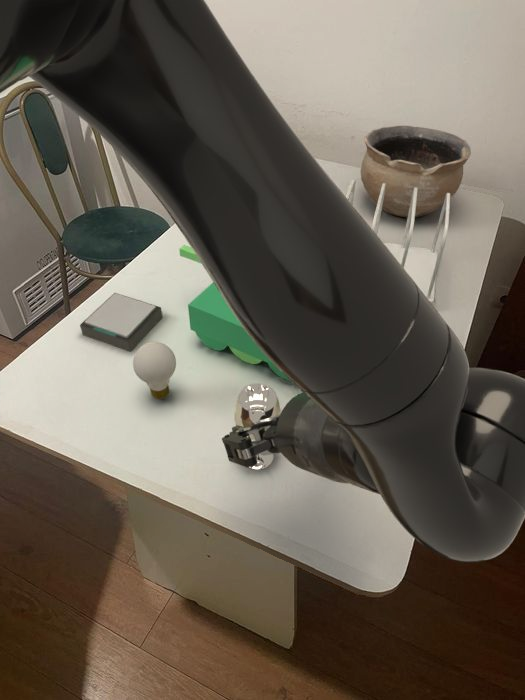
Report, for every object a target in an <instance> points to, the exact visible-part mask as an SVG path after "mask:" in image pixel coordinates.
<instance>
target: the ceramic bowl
mask: <svg viewBox="0 0 525 700" xmlns="http://www.w3.org/2000/svg"><path fill="white" fill-rule="evenodd" d="M363 141H364V143H365V146H366V151H365V154H364V156H363V158H362V161H361V167H360V180H361V182H362V185H363V187H364V190H365V192H366V193H367V195H368V197H369V198H370V199H371V201H372V202H373V203H374V205H376V206H377V203H378V199H379V195H380V192H381V188H382V184H383V183H385V184H386V187H385V193H384V199H383V205H382V211H384V212H386V213H387V214H390V215H392V216H397V217H401V218H408V214H409V209H410V204H411V199H412V195H413V190H414V188H418V189H417V200H416V210H415V218H419V217H423V216H426V215H428V214H430V213H432V212H434V211H436V210H438V209H440V208H442V207H443V204H444V200H445V197H446V194H447V193H450V199H451V198H452V197H454V195H456V193H457V192H458V190H459V188H460V186H461V183H462V181H463V177H464V165H465V164H466V162H467V161H468V160H469V158H470V157H471V154H472V151H471V145H469V143H468V142H467V140H465V139H463V138H461V137H460V136H458V135H456V134H453V133H450V132H447V131H445V130H439V129H436V128H435V129H434V128H428V127H421V126H412V125H395V126H382V127H380V128H377V129H372V130H371V131H370V132H368V133H367V134H366V135H365V136H364V139H363Z"/></svg>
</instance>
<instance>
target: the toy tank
mask: <svg viewBox="0 0 525 700" xmlns="http://www.w3.org/2000/svg"><path fill="white" fill-rule="evenodd" d="M178 250H179V257H183V258H185V259H188V260H191V261H194V262H195V263H198V264H201V265H202V263H201V262H200V260H199V259H198V257H197V255H196V254H195V252H194V251H193V249H192V248H191V246H190V245H185V244H183V245H182V246H181V247H180V248H178ZM187 309H188V319H189V328H190V331H192V332H194V333H195V334H196V336H197V338H198V339H199V341H201V343H203V345H205V346H206V347H207V348H209V349H211V350H214V351H217V352H218V351H223V350H226V348H228V347H229V349H230V351H231V352H232V353H233V354H234V355H235V356H236V357H237V358H238V359H239V360H241V361H243V362H245V363H247V364H250V365H257V364H261V362H264V363H267V365H268V367H269V368H270V369H271V370H272V372H273V373H274V374H276V375H277V376H278V377H280V378H281V379H283V380H286V381H289V382H291V381H290V380H289V379H288V378H287V377H286V376H285V375H284V374H283V373H282V372H281V371H280V370H279V369H278V368H277V367H276V366H275V365H274V364H273V363H272V362H271V361H270V360H269V359H268V358H267V356H266V355H265V354H264V353H263V352H262V351H261V349H260V348H259V347H258V346H257V345H256V344H255V342H254V341H253V340H252V339H251V337H250V336H249V335H248V333H247V332H246V331H245V330H244V328H243V327H242V325H241V324H240V322H239V321H238V320H237V318H236V317H235V315H234V314H233V312H232V311H231V309H230V308H229V306H228V305H227V303H226V302H225V300H224V299H223V297H222V295H221V294H220V292H219V290H218V289H217V287H216V285H215V284H214V282H213V281H212V283H211V284H210V285H208V286H207V287H206V288H205V289H204V290H203V291H201V292H200V293H199V294H198V295H197V296H196V297H195V298H193V299H192V300H191V301H190V302H189V303H188V304H187Z"/></svg>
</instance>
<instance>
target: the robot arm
mask: <svg viewBox="0 0 525 700" xmlns="http://www.w3.org/2000/svg"><path fill="white" fill-rule="evenodd" d="M26 78H30V79H32V80H33V81H34V82H36V83H37V84H38V85H39V86H41V87H42V88H43V89H44V90H46V91H47V92H48V93H49V94H51V95H52V96H53V97H54V98H56V99H57V100H58V101H60V102H61V103H62V104H64V105H65V106H66V107H67V108H68V109H69V110H70V111H72V112H73V113H74V114H75V115H77V116H78V117H79V118H81V119H82V120H83V121H84V122H85V123H87V125H89V126H90V127H91V128H92V129H94V131H96V133H98V134H99V135H100V136H101V137H102V138H103V139H104V140H105V141H106V142H107V143H108V144H109V145H110V146H111V147H112V148H113V149H114V150H115V151H116V152H117V153H118V154H119V155H120V156H121V157H122V159H123V160H124V161H125V162H126V163H127V164H128V165H129V166H130V167H131V168H132V169H133V171H134V172H135V173H136V174H137V175H138V176H139V178H140V179H141V180H142V181H143V182H144V184H145V185H146V186H147V187H148V188H149V190H150V191H151V192H152V194H153V195H154V196H155V197H156V199H157V200H158V201H159V203H160V204H161V205H162V206H163V208H164V209H165V210H166V212H167V213H168V215H169V216H170V218H171V219H172V221H173V222H174V224H175V225H176V226H177V228H178V230H179V231H180V233H181V234H182V235H183V237H184V238H185V240H186V241H187V243H188V244H189V247H191V248H192V249H193V251H194V252H195V254H196V255H197V257H198V259H199V260H200V262H201V263H202V264H201V263H200V264H201V265H202V267H203V268H204V270H205V271H206V273H207V274H208V276H209V277H210V279H211V281H212V283H213V282H214V284H215V285H216V287H217V289H218V290H219V292H220V294H221V295H222V297H223V299H224V300H225V302H226V303H227V305H228V306H229V308H230V309H231V311H232V312H233V314H234V315H235V317H236V318H237V320H238V321H239V322H240V324H241V325H242V327H243V328H244V330H245V331H246V332H247V333H248V335H249V336H250V337H251V339H252V340H253V341H254V342H255V344H256V345H257V346H258V347H259V348H260V349H261V351H262V352H263V353H264V354H265V355H266V356H267V358H268V359H269V360H270V361H271V362H272V363H273V364H274V365H275V366H276V367H277V368H278V369H279V370H280V371H281V372H282V373H283V374H284V375H285V376H286V377H287V378H288V379H289V380H290V381H289V380H288V381H289V382H291V383H293V385H294V386H296V387H297V389H298V390H300V391H301V392H300V393H298V394H296V395H295V396H293V397H292V398H291V399H289V401H287V403H286V404H285V405H284V407H283V408H282V409H281V413H280V414H278V415H277V416H275V417H272V418H267V419H262V420H259V421H257V422H255V423H254V424H252V426H251V427H243V426H239V425H237V426H236V425H234V426H232V427H231V431H230V432H229V434H226V435H224V436H222V438H221V441H222V444H223V445H224V448H225V452H226V455H227V459H228V461H229V462H231V463H233V464H237V465H240V466H241V467H244V468H248V467H252V466H254V465H255V464H257V463H258V462H257V456H256V455H258V454H261V455H270V454H273V455H276V454H282V456H283V457H284V458H285V459H286V460H287V461H288V462H289V463H291V464H292V465H293V466H295V467H296V468H297V469H301V470H303V471H306V472H308V473H311V474H314V475H317V476H319V477H322V478H324V479H327V480H330V481H332V482H336V483H341V484H349V485H352V486H354V487H357V488H360V489H363V490H365V491H368V492H372V493H374V494H377V495H380V496H381V499H382V500H383V502H384V503H385V505H386V506H387V508H388V509H389V511H390V512H391V514H392V515H393V517H394V518H395V520H397V522H398V523H399V524H400V526H402V528H403V529H404V530H405V531H406V532H407V533H408V534H409V535H410V536H411V537H412V538H414V539H415V540H416V541H417V542H418V543H419V544H421V545H422V546H424V548H427V549H428V550H430V552H433V553H435V554H436V555H439V556H441V557H443V558H446V559H448V560H451V561H456V562H460V563H469V564H470V563H471V564H472V563H482V562H486V561H489V560H493V559H494V558H496V557H498V556H499V555H501V554H503V553H504V552H505V551H506V550H507V549H508V548H510V546H511V544H512V543H513V541H514V540H515V538H516V536H517V535H518V533H519V531H520V529H521V527H522V525H523V522H524V521H525V378H524V377H521V376H519V375H516V374H514V373H510V372H508V371H505V370H500V369H494V368H486V367H470V364H469V360H468V359H469V358H468V355H467V352H466V351H465V348H464V346H463V344H462V342H461V341H460V339H459V338H458V337H457V335H456V334H455V332H454V331H453V330H452V328H451V327H450V326H449V324H448V323H447V322H446V320H444V318H443V316H442V315H441V314H440V313H439V311H438V310H437V309H436V308H435V306H434V304H433V305H432V304H431V302H430V301H429V300H428V299H427V297H426V296H425V295H424V294H423V292H422V291H421V290H420V288H419V287H418V286H417V285H416V283H415V282H414V281H413V279H412V278H411V277H410V276H409V274H408V273H407V272H406V271H405V269H404V268H403V267H402V266H401V264H400V263H399V262H398V261H397V259H396V258H395V257H394V256H393V255H392V253H391V252H390V251H389V250H388V248H387V247H386V246H385V245H384V243H383V242H384V241H382V240H381V239H380V237H379V235H378V234H377V235H376V234H375V232H374V231H373V230H372V226H370V225H369V224H368V223H367V221H366V220H365V219H364V217H363V216H362V214H360V212H358V210H357V209H356V208H355V207H354V205H352V204H351V203H350V200H349V199H347V198H346V195H345V194H344V192H342V191H341V190H340V188H339V187H338V185H336V183H335V182H334V181H333V179H332V178H331V177H330V176H329V175H328V173H327V172H326V171H325V170H324V168H323V167H322V166H321V165H320V163H319V162H318V161H317V160H316V158H315V157H314V156H313V155H312V154H311V152H310V151H309V150H308V148H307V147H306V145H305V144H304V143H303V142H302V141H301V139H300V138H299V137H298V135H297V134H296V133H295V132H294V130H293V129H292V128H291V126H290V125H289V124H288V122H287V121H286V120H285V117H283V115H282V114H281V112H279V110H278V108H276V105H274V103H273V102H272V101H271V99H270V98H269V96H268V95H267V93H266V92H265V90H264V89H263V87H262V86H261V85H260V83H259V81H258V80H257V79H256V76H254V75H253V73H252V72H251V70H250V69H249V67H248V66H247V64H246V62H245V61H244V60H243V58H242V56H241V55H240V54H239V52H238V51H237V49H236V48H235V46H234V44H233V42H231V40H230V38H229V37H228V35H227V34H226V32H225V31H224V29H223V28H222V26H221V24H220V23H219V21H218V20H217V18H216V16H215V15H214V14H213V12H212V10H211V8H210V6H208V4H207V2H206V0H0V94H1V93H3V92H4V91H6V90H8V89H9V88H10V87H12V86H14V85H16V84H17V83H19V82H20V81H23V80H25V79H26ZM266 426H270V427H269V428H268V429H267V430H265V427H266ZM249 434H253V435H254V437H255V440H256V441H255V440H251V438H250V435H249Z"/></svg>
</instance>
